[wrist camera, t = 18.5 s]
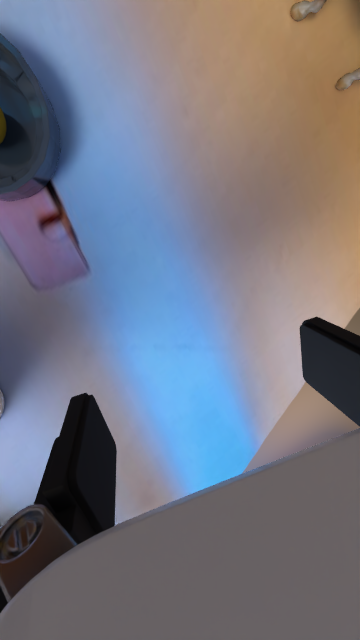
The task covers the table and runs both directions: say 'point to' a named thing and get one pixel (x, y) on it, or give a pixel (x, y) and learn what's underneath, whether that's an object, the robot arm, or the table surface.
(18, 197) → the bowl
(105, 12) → the table surface
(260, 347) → the table surface
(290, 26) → the table surface
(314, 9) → the horse figurine
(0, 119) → the lemon
